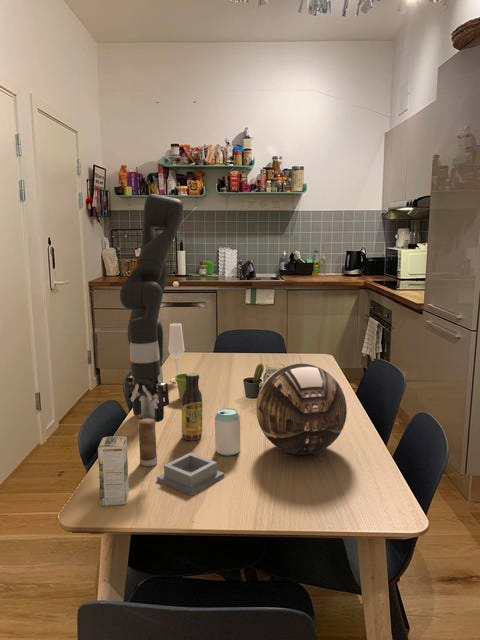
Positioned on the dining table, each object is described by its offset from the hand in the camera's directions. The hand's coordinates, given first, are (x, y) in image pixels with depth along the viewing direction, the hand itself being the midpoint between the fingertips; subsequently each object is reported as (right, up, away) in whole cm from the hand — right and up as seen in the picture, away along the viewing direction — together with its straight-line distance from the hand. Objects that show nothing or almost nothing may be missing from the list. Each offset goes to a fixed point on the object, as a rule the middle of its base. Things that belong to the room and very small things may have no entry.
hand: (148, 417), depth 134 cm
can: (+21, -12, +9) cm, 26 cm away
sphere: (+42, -11, +9) cm, 44 cm away
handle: (0, -13, +2) cm, 13 cm away
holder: (+12, -14, -6) cm, 20 cm away
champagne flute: (-2, 0, +78) cm, 79 cm away
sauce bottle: (+10, -10, +19) cm, 24 cm away
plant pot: (+5, -4, +55) cm, 56 cm away
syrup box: (-5, -16, -16) cm, 23 cm away
